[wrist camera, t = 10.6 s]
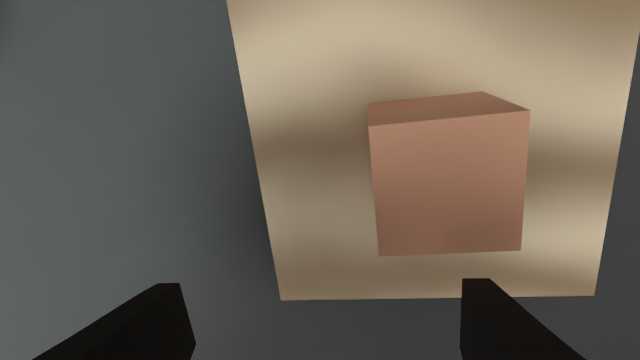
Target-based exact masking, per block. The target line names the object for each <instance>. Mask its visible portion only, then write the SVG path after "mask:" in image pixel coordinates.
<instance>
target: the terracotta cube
mask: <svg viewBox="0 0 640 360" xmlns="http://www.w3.org/2000/svg"><path fill="white" fill-rule="evenodd" d="M530 112H531V110H529V109H526V108H524V107H521V106H519V105H516V104H513V103H511V102H508V101H506V100H503V99H501V98H498V97H496V96H493V95H491V94H488V93H486V92H483V91H479V92H470V93H461V94H452V95H443V96H433V97H424V98H415V99H406V100H397V101H388V102H379V103H369V104H368V131H369V143H370V155H371V167H372V179H373V191H374V204H375V216H376V228H377V240H378V252H379V257H386V256H409V255H432V254H455V253H478V252H502V251H521V242H522V227H523V213H524V198H525V184H526V170H527V155H528V141H529V127H530Z"/></svg>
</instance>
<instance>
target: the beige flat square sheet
mask: <svg viewBox="0 0 640 360" xmlns="http://www.w3.org/2000/svg"><path fill="white" fill-rule="evenodd" d="M226 1H227V7H228V12H229V18H230V23H231V29H232V34H233V39H234V45H235V50H236V56H237V61H238V67H239V72H240V78H241V83H242V89H243V94H244V100H245V105H246V111H247V116H248V122H249V127H250V133H251V138H252V144H253V149H254V155H255V160H256V166H257V171H258V177H259V182H260V188H261V193H262V199H263V204H264V210H265V215H266V221H267V226H268V232H269V237H270V243H271V248H272V254H273V259H274V265H275V270H276V276H277V281H278V287H279V292H280V298H281V300H335V299H401V298H461V297H462V278H490V279H491V280H492V281H493V282H495V283H496V284H497V285H498V286H499V287H500V288H501V289H503V290H504V291H505V292H506V293H507V294H508V295H509V296H510V297H534V296H594V294H595V288H596V282H597V276H598V271H599V265H600V259H601V253H602V247H603V241H604V236H605V230H606V224H607V218H608V212H609V206H610V201H611V195H612V189H613V183H614V177H615V172H616V166H617V160H618V154H619V148H620V142H621V137H622V131H623V125H624V119H625V113H626V107H627V102H628V96H629V90H630V84H631V78H632V73H633V67H634V61H635V55H636V49H637V43H638V38H639V32H640V0H226ZM479 91H483V92H486V93H488V94H491V95H493V96H496V97H498V98H501V99H503V100H506V101H508V102H511V103H513V104H516V105H519V106H521V107H524V108H526V109H529V110H531V112H530V127H529V141H528V155H527V170H526V184H525V198H524V213H523V227H522V242H521V251H502V252H478V253H455V254H432V255H409V256H386V257H379V252H378V240H377V228H376V216H375V204H374V191H373V179H372V167H371V155H370V143H369V131H368V104H369V103H379V102H388V101H397V100H406V99H415V98H424V97H433V96H443V95H452V94H461V93H470V92H479Z"/></svg>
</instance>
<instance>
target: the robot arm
mask: <svg viewBox="0 0 640 360" xmlns="http://www.w3.org/2000/svg"><path fill="white" fill-rule="evenodd" d="M195 346H196V342H195V338H194V334H193V331H192V327H191V324H190V320H189V316H188V313H187V309H186V305H185V302H184V298H183V294H182V291H181V287H180V284H179V283H158V284H156V285H154V286H152V287H150V288H149V289H147V290H145V291H143V292H142V293H140V294H138V295H137V296H135V297H133V298H132V299H130V300H128V301H127V302H125V303H124V304H122V305H120V306H119V307H117V308H116V309H114V310H112V311H111V312H109V313H108V314H106V315H104V316H103V317H101V318H100V319H98V320H97V321H95V322H93V323H92V324H90V325H89V326H87V327H85V328H84V329H82V330H81V331H79V332H77V333H76V334H74V335H73V336H71V337H69V338H68V339H66V340H64V341H63V342H61V343H59V344H58V345H56V346H54V347H52V348H51V349H49V350H47V351H46V352H44V353H42V354H41V355H39V356H37V357H36V358H34V359H32V360H190V359H191V356H192V354H193V351H194V348H195ZM460 349H461V354H462V358H463V360H586V359H584V358H583V357H582V356H581V355H579V354H578V353H577V352H576V351H574V350H573V349H572V348H571V347H569V346H568V345H567V344H566V343H564V342H563V341H562V340H561V339H559V338H558V337H557V336H556V335H555V334H553V333H552V332H551V331H550V330H549V329H547V328H546V327H545V326H544V325H543V324H541V323H540V322H539V321H538V320H537V319H536V318H534V317H533V316H532V315H531V314H530V313H529V312H527V311H526V310H525V309H524V308H523V307H522V306H521V305H519V304H518V303H517V302H516V301H515V300H514V299H513V298H512V297H510V296H509V295H508V294H507V293H506V292H505V291H504V290H503V289H501V288H500V287H499V286H498V285H497V284H496V283H495V282H493V281H492V280H491V279H490V278H462V297H461V328H460Z"/></svg>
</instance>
